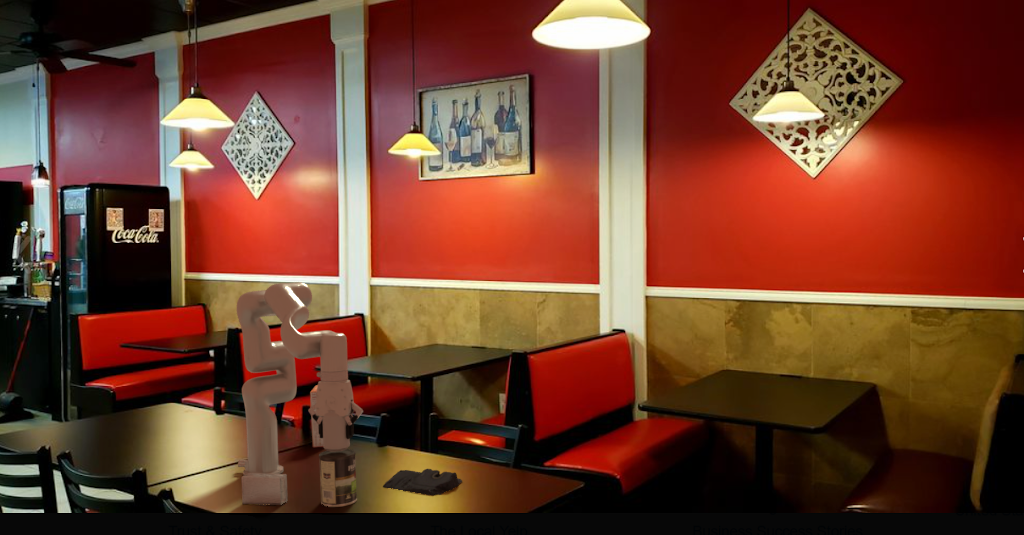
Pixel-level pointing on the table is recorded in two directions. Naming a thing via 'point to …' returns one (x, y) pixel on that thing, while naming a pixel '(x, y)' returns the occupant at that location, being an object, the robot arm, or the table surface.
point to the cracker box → (315, 430)
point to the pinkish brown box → (264, 489)
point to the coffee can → (338, 478)
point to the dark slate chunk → (423, 481)
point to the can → (334, 432)
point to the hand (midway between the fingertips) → (336, 437)
